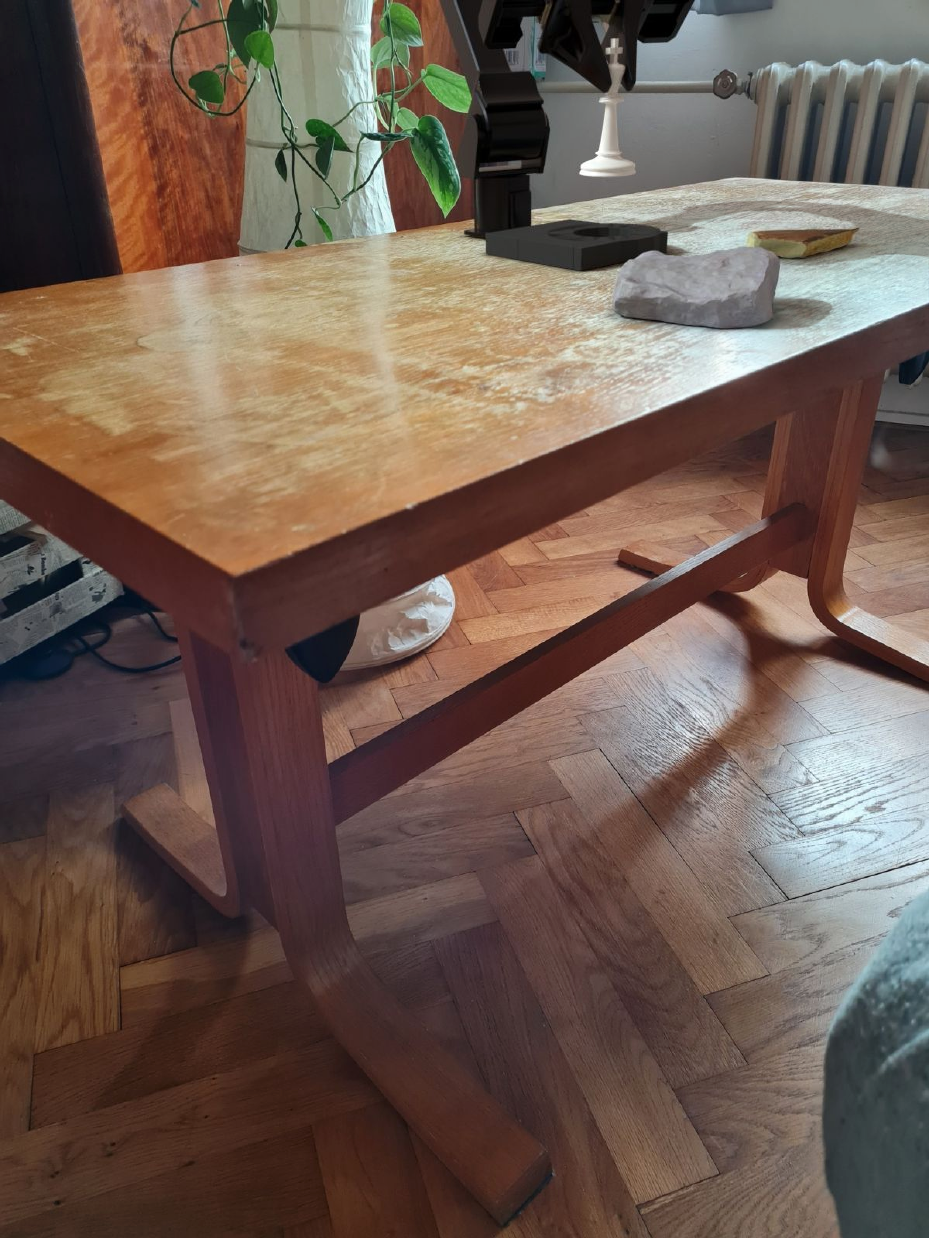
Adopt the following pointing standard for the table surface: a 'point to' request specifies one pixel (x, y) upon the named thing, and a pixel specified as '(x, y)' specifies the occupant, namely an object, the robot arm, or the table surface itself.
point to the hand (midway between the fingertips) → (619, 88)
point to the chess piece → (610, 128)
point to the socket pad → (576, 243)
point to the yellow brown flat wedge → (800, 241)
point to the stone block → (699, 287)
